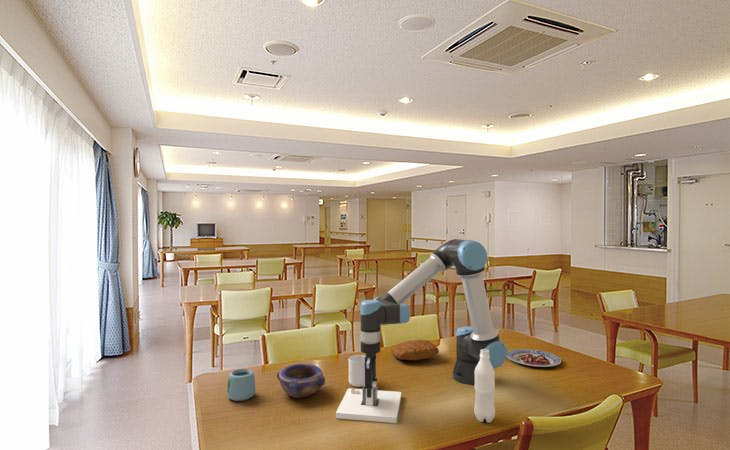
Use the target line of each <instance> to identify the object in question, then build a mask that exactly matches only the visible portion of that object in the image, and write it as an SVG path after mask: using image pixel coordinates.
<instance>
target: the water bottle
mask: <svg viewBox="0 0 730 450" xmlns="http://www.w3.org/2000/svg"><path fill="white" fill-rule="evenodd" d="M480 353H481V354H480V361H479V363H478V364H477V366H476V368H475V372H474V374H475V384H474V393H475V398H474V399H475V401H474V407H473V409H474V411H473V412H474V413H473V414H474V416H475V417H476V420H478V422H480V423H483V422H484V420H485V421H486V423H489V424H490V423H492V421H493V420H494V419H495V417H496V410H495V408H496V407H495V402H494V401H495V399H494V398H495V391H496V387H495V386H496V384H495V383H496V382H495V381H496V372H495V368H493V367H492V365H491V363H490V360H489V358H490V355H489V350H487V349H481V350H480Z"/></svg>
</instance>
